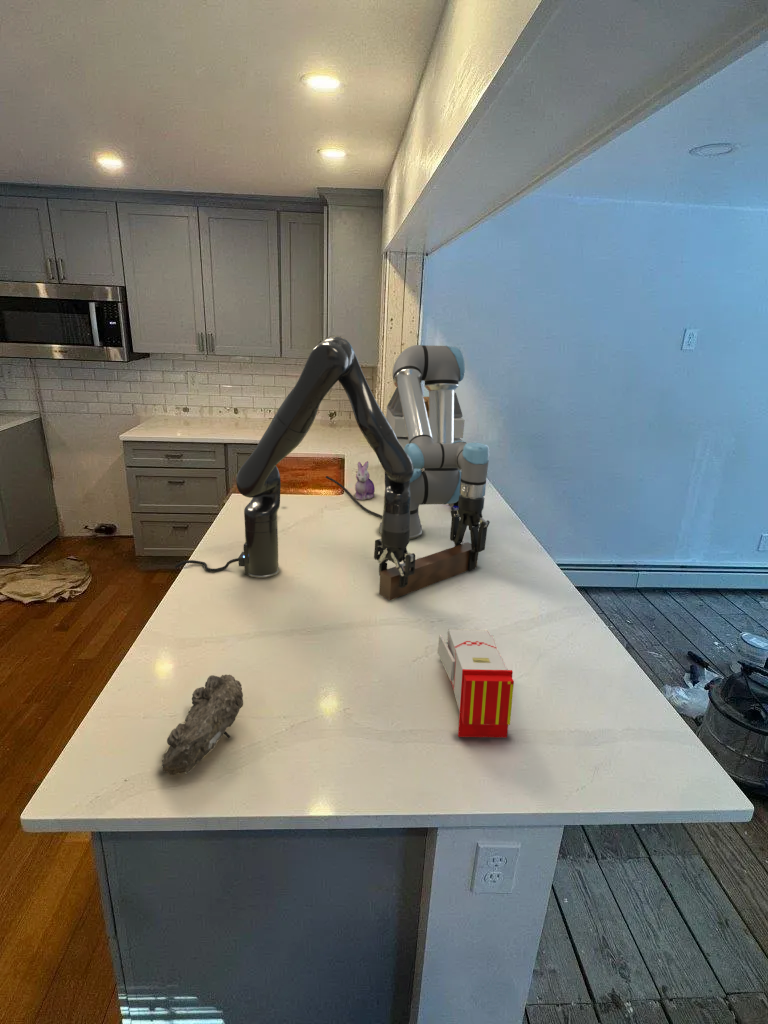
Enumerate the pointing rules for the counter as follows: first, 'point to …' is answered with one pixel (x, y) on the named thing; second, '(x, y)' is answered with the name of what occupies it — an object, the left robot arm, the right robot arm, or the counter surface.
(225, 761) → the counter surface
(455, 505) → the figurine character
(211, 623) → the counter surface
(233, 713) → the fossil
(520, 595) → the counter surface
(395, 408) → the transformer
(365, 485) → the figurine
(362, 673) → the counter surface
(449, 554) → the plank
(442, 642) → the toy
